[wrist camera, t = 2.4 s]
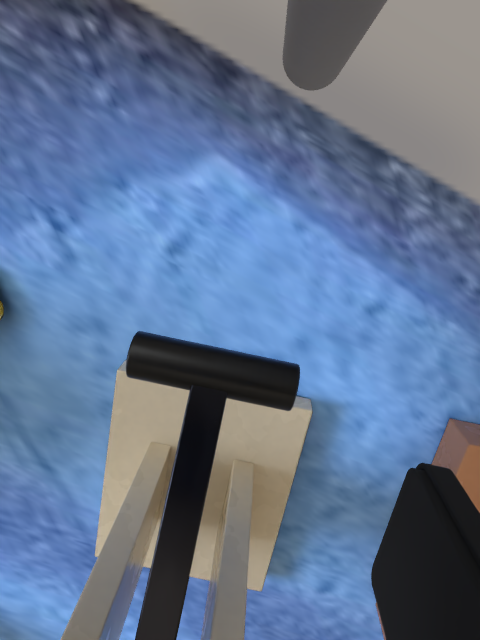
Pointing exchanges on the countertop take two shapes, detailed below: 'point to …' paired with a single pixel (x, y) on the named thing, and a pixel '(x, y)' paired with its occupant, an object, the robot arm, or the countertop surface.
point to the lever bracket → (218, 514)
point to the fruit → (1, 310)
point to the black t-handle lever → (195, 451)
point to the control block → (460, 460)
